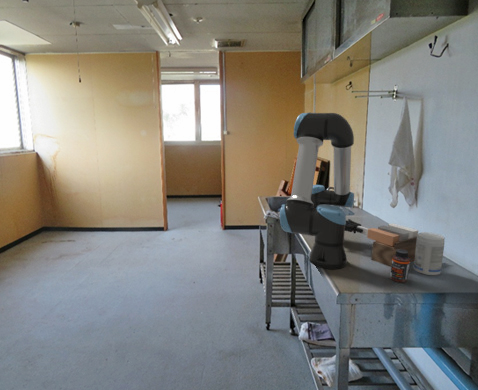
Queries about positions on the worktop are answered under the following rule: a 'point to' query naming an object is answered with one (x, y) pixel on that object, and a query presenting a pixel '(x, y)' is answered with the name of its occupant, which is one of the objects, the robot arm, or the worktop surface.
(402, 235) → the gray bar
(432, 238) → the supplement tub
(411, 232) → the off-white bar
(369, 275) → the worktop surface
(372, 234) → the orange rectangular bar
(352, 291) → the worktop surface
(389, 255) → the walnut key block
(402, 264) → the supplement bottle
